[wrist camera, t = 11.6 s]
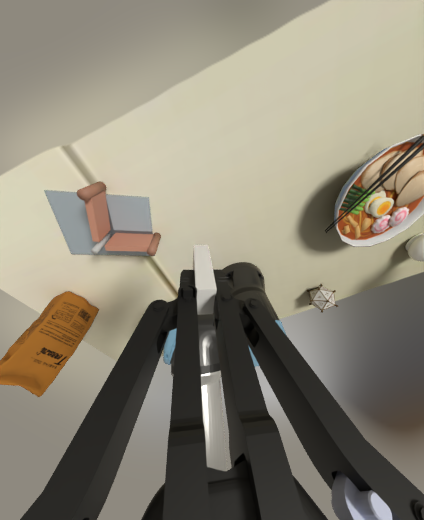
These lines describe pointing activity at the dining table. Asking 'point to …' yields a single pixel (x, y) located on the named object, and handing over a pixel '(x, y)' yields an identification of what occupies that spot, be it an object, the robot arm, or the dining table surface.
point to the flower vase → (416, 247)
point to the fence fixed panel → (129, 243)
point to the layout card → (120, 217)
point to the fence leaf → (96, 209)
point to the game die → (322, 298)
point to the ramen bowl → (382, 195)
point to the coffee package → (47, 343)
